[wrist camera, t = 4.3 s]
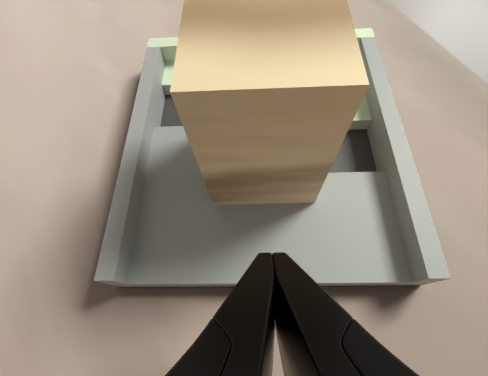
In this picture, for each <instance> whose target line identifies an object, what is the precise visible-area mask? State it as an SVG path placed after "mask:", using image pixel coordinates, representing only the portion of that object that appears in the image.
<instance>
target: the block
mask: <svg viewBox="0 0 488 376" xmlns="http://www.w3.org/2000/svg"><path fill="white" fill-rule="evenodd" d="M368 87H369V81H368V77H367V74H366V70H365V66H364V63H363V59H362V55H361V51H360V48H359V44H358V40H357V37H356V33H355V29H354V26H353V22H352V18H351V15H350V11H349V7H348V4H347V0H184V5H183V12H182V18H181V24H180V31H179V37H178V43H177V50H176V56H175V62H174V69H173V75H172V81H171V88H170V94H171V97H172V99H173V102H174V104H175V107H176V109H177V112H178V115H179V117H180V120H181V122H182V125H183V127H184V130H185V133H186V135H187V138H188V140H189V143H190V145H191V148H192V151H193V153H194V156H195V158H196V161H197V163H198V166H199V169H200V171H201V174H202V176H203V179H204V181H205V184H206V187H207V189H208V192H209V194H210V197H211V199H212V202H213V204H214V205H226V204H277V203H315V201H316V199H317V197H318V195H319V192H320V190H321V188H322V186H323V184H324V182H325V179H326V177H327V175H328V173H329V171H330V169H331V167H332V164H333V162H334V160H335V158H336V156H337V154H338V151H339V149H340V147H341V145H342V143H343V141H344V138H345V136H346V134H347V132H348V130H349V128H350V126H351V123H352V121H353V119H354V117H355V115H356V113H357V110H358V108H359V106H360V104H361V102H362V100H363V98H364V95H365V93H366V91H367V89H368Z"/></svg>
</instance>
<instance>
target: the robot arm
mask: <svg viewBox="0 0 488 376" xmlns="http://www.w3.org/2000/svg"><path fill="white" fill-rule="evenodd" d="M275 328H276V334H277V340H278V345H279V350H280V356H281V361H282V366H283V372H284V376H419V375H418V374H416V373H415V372H414V371H413V370H411V369H410V368H409V367H408V366H406V365H405V364H404V363H403V362H402V361H400V360H399V359H398V358H397V357H396V356H394V355H393V354H392V353H391V352H390V351H389V350H387V349H386V348H385V347H384V346H383V345H381V344H380V343H379V342H378V341H377V340H376V339H375V338H374V337H373V336H372V335H371V334H369V333H368V332H367V331H366V330H365V329H364V328H363V327H362V326H361V325H360V324H359V323H358V322H357V321H356V320H355V319H353V318H352V317H351V316H350V315H349V314H348V313H347V312H346V311H345V310H344V309H343V308H342V307H341V306H340V305H339V304H338V303H337V302H336V301H335V300H334V299H333V298H332V297H331V296H330V295H329V294H328V293H327V292H326V291H325V290H324V289H323V288H322V287H321V286H320V285H318V284H317V283H316V282H315V281H314V280H313V279H312V278H311V277H310V276H309V275H308V274H307V273H306V272H305V271H304V270H303V269H302V268H301V267H300V266H299V265H298V264H297V263H296V262H295V261H294V260H293V259H292V258H291V257H290V256H289V255H288V254H287V253H285V252H274V253H273V254H271V253H270V252H267V253H258V254H257V256H256V257H255V259H254V260H253V262H252V263H251V264H250V266H249V267H248V269H247V270H246V271H245V273H244V274H243V276H242V277H241V278H240V280H239V281H238V283H237V284H236V285H235V287H234V288H233V290H232V291H231V293H230V294H229V295H228V297H227V298H226V300H225V301H224V302H223V304H222V305H221V307H220V308H219V309H218V311H217V312H216V314H215V315H214V316H213V319H211V320H210V322H209V323H208V325H207V326H206V328H205V329H204V330H203V332H202V333H201V334H200V336H199V337H198V338H197V339H196V341H195V342H194V343H193V345H192V346H191V347H190V348H189V349H188V350H187V352H186V353H185V354H184V355H183V356H182V357H181V358H180V360H179V361H178V362H177V363H176V364H175V365H174V366H173V367H172V368H171V370H170V371H169V372H168V373H167V374H166V375H165V376H272V367H273V351H274V334H275Z"/></svg>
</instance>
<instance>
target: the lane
mask: <svg viewBox="0 0 488 376" xmlns="http://www.w3.org/2000/svg"><path fill="white" fill-rule="evenodd" d="M355 33H356V37H357V40H358V44H359V48H360V51H361V55H362V59H363V63H364V66H365V70H366V74H367V77H368V81H369V87H368V89H367V91H366V93H365V95H364V98H363V100H362V102H361V104H360V106H359V108H358V110H357V113H356V115H355V117H354V119H353V121H352V123H351V126H350V128H349V130H348V132H347V134H346V136H345V138H344V141H343V143H342V145H341V147H340V149H339V151H338V154H337V156H336V158H335V160H334V162H333V164H332V167H331V169H330V171H329V173H328V175H327V177H326V179H325V182H324V184H323V186H322V188H321V190H320V192H319V195H318V197H317V199H316V201H315V203H277V204H226V205H214V204H213V202H212V199H211V197H210V194H209V192H208V189H207V187H206V184H205V181H204V179H203V176H202V174H201V171H200V169H199V166H198V163H197V161H196V158H195V156H194V153H193V151H192V148H191V145H190V143H189V140H188V138H187V135H186V133H185V130H184V127H183V125H182V122H181V120H180V117H179V115H178V112H177V109H176V107H175V104H174V102H173V99H172V97H171V94H170V88H171V81H172V75H173V69H174V62H175V56H176V50H177V43H178V37H172V38H151V39H149V41H148V45H147V50H146V54H145V59H144V63H143V67H142V72H141V76H140V80H139V85H138V89H137V94H136V98H135V102H134V107H133V111H132V115H131V120H130V124H129V129H128V133H127V137H126V142H125V146H124V150H123V155H122V159H121V164H120V168H119V172H118V177H117V181H116V185H115V190H114V194H113V199H112V203H111V207H110V212H109V216H108V220H107V225H106V229H105V234H104V238H103V242H102V247H101V251H100V256H99V260H98V264H97V269H96V273H95V277H94V281H96V282H100V283H104V284H108V285H112V286H116V287H189V286H235V285H236V284H237V283H238V281H239V280H240V278H241V277H242V276H243V274H244V273H245V271H246V270H247V269H248V267H249V266H250V264H251V263H252V262H253V260H254V259H255V257H256V256H257V254H258V253H267V252H270V253H271V254H273V253H274V252H285V253H287V254H288V255H289V256H290V257H291V258H292V259H293V260H294V261H295V262H296V263H297V264H298V265H299V266H300V267H301V268H302V269H303V270H304V271H305V272H306V273H307V274H308V275H309V276H310V277H311V278H312V279H313V280H314V281H315V282H316V283H317V284H318V285H320V286H358V285H424V284H428V283H433V282H437V281H442V280H446V279H450V278H451V277H450V274H449V271H448V267H447V264H446V261H445V258H444V255H443V252H442V248H441V245H440V242H439V239H438V236H437V233H436V229H435V226H434V223H433V220H432V217H431V214H430V210H429V207H428V204H427V201H426V198H425V195H424V191H423V188H422V185H421V182H420V179H419V176H418V172H417V169H416V166H415V163H414V160H413V157H412V153H411V150H410V147H409V144H408V141H407V138H406V134H405V131H404V128H403V125H402V122H401V119H400V115H399V112H398V109H397V106H396V103H395V100H394V96H393V93H392V90H391V87H390V84H389V81H388V77H387V74H386V71H385V68H384V65H383V62H382V58H381V55H380V52H379V49H378V46H377V43H376V39H375V36H374V33H373V30H372V28H364V29H355Z"/></svg>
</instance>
